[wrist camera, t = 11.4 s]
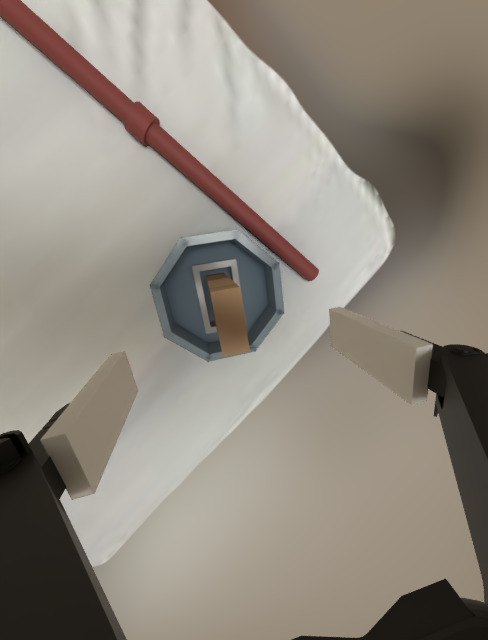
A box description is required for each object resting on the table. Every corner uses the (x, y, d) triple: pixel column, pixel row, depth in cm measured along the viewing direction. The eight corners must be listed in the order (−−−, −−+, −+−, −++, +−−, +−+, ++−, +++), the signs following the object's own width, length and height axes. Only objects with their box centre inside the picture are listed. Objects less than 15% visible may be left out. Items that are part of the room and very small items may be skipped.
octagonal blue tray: (147, 244, 31) (138, 243, 26) (264, 227, 33) (275, 223, 28) (176, 354, 36) (172, 369, 31) (276, 332, 38) (287, 344, 33)
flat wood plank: (205, 275, 33) (210, 292, 19) (223, 272, 33) (240, 286, 20) (213, 316, 34) (223, 357, 21) (230, 313, 35) (250, 351, 22)
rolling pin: (-20, 8, 23) (-53, -28, 20) (-5, -23, 23) (-36, -64, 20) (302, 283, 37) (311, 285, 34) (315, 266, 37) (325, 268, 34)
